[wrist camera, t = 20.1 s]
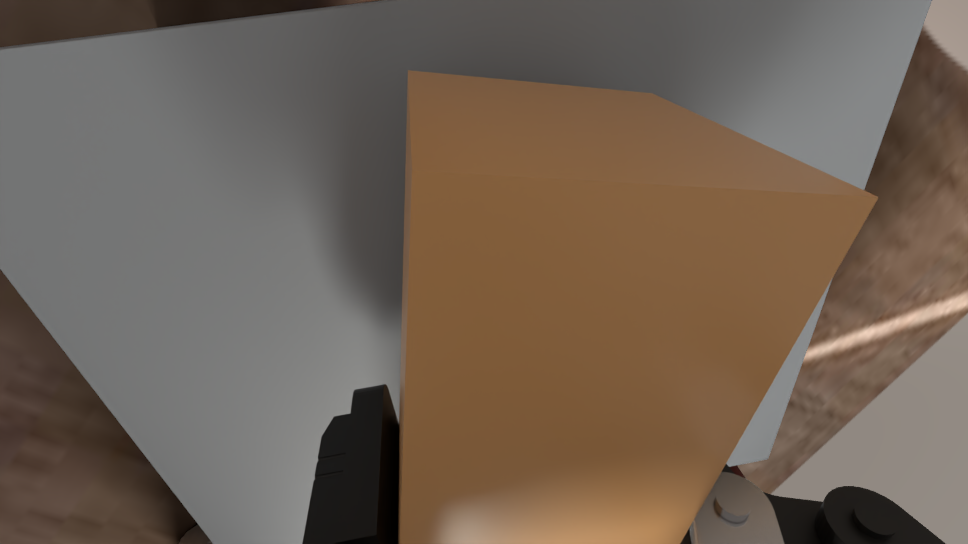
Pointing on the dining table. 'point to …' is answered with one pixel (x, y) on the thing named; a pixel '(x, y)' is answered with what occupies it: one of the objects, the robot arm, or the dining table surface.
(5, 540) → the dining table surface
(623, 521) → the light orange bar
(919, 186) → the dining table surface
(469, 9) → the lid
